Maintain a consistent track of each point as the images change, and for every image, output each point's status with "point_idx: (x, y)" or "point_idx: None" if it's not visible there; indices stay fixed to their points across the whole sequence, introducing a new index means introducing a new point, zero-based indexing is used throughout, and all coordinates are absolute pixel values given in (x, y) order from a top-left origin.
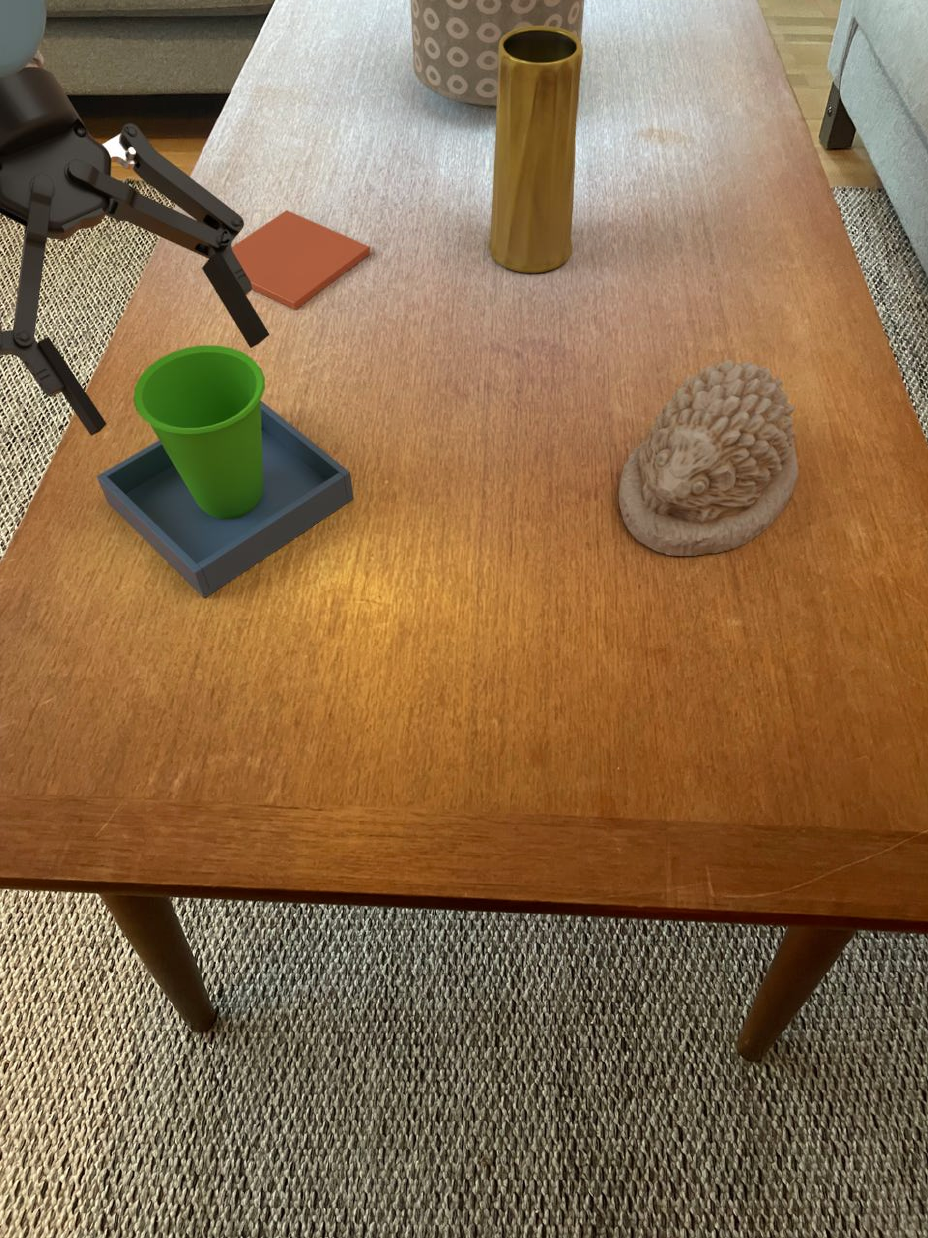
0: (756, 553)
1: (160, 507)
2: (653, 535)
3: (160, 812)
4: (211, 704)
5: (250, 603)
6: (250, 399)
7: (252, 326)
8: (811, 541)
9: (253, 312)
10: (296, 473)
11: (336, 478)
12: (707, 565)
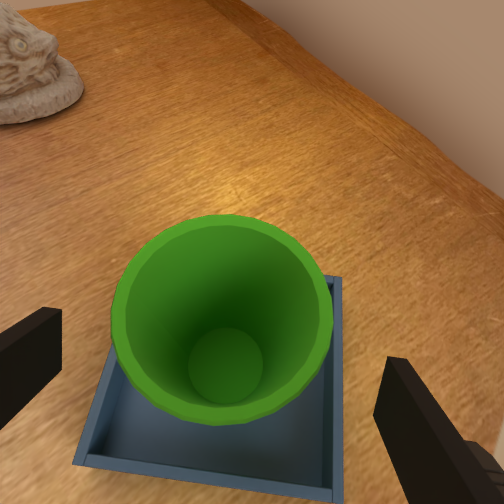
0: None
1: (291, 421)
2: (77, 79)
3: (456, 195)
4: (386, 222)
5: None
6: (155, 311)
7: (45, 325)
8: None
9: (15, 329)
10: None
11: None
12: (79, 69)
